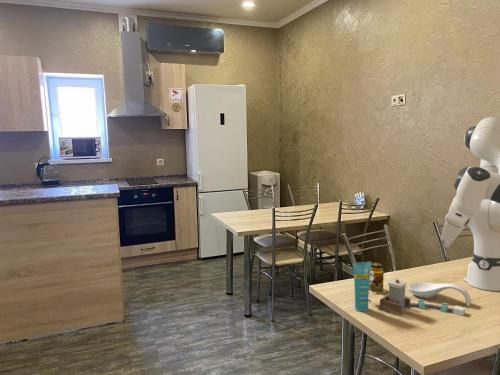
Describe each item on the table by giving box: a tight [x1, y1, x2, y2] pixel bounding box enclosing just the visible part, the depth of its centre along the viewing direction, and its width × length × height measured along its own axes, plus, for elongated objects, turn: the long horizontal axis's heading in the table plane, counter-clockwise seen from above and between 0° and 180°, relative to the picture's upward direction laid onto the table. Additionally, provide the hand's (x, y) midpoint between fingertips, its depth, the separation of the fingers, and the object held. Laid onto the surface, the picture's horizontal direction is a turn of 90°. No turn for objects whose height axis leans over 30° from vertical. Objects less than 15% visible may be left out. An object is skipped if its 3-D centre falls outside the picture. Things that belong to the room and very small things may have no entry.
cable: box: [410, 302, 466, 317], centre depth 147 cm, size 4×22×2 cm, turn 64°
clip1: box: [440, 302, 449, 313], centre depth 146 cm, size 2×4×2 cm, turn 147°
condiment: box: [369, 262, 388, 295], centre depth 168 cm, size 7×8×12 cm
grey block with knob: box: [388, 278, 407, 312], centre depth 147 cm, size 5×5×12 cm
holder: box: [379, 293, 411, 316], centre depth 148 cm, size 9×8×4 cm
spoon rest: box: [407, 282, 472, 307], centre depth 157 cm, size 24×12×7 cm, turn 52°
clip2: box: [417, 299, 426, 310], centre depth 150 cm, size 2×4×2 cm, turn 168°
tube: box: [352, 260, 372, 312], centre depth 148 cm, size 7×5×19 cm, turn 103°
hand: (451, 240), depth 142 cm, fingers open, 8 cm apart
